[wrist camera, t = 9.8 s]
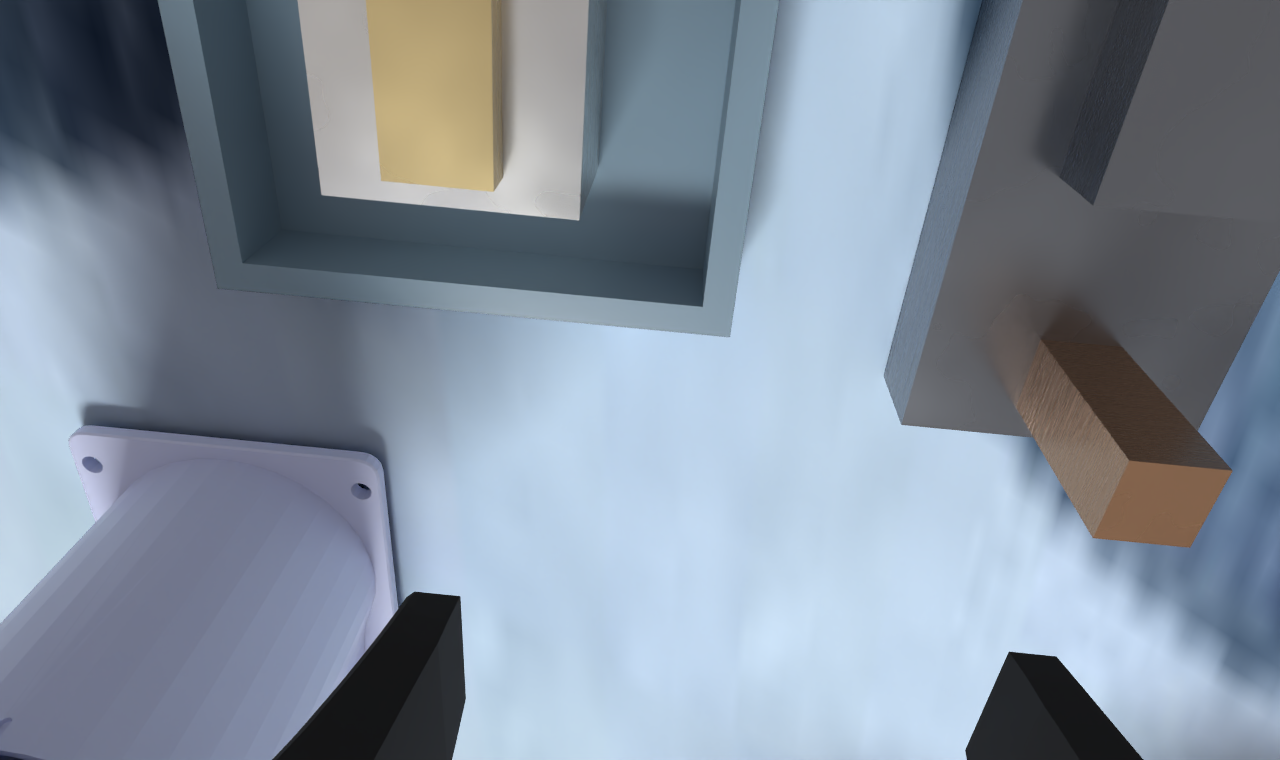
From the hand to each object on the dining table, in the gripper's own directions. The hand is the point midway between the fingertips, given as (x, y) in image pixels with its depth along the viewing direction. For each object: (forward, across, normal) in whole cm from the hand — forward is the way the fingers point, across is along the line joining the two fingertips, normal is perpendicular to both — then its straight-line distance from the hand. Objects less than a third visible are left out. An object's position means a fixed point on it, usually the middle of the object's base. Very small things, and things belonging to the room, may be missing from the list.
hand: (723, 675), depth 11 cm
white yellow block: (+9, +5, -7) cm, 12 cm away
